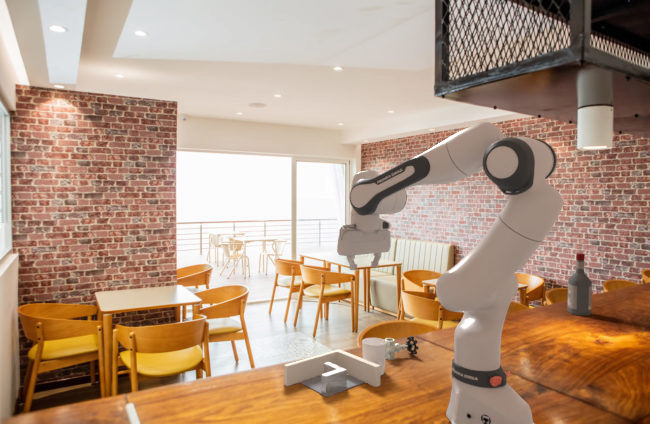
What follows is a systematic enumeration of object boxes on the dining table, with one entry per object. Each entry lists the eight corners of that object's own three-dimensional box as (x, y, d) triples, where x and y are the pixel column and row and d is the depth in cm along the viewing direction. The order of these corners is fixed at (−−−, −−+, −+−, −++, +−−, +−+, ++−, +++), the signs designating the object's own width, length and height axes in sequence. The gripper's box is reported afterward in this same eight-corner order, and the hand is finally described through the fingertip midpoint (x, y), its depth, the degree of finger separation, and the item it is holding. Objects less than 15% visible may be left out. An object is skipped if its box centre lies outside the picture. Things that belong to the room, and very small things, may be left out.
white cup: (366, 378, 135) (367, 346, 135) (358, 368, 143) (358, 338, 142) (390, 375, 137) (390, 344, 137) (380, 366, 145) (380, 336, 144)
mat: (364, 383, 131) (364, 382, 131) (326, 397, 122) (326, 396, 122) (337, 371, 140) (337, 370, 140) (300, 383, 131) (300, 382, 131)
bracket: (346, 386, 128) (346, 369, 128) (325, 394, 123) (326, 376, 123) (328, 377, 134) (328, 361, 134) (308, 384, 129) (308, 368, 129)
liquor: (572, 315, 215) (573, 254, 214) (566, 310, 224) (567, 252, 223) (592, 316, 213) (594, 255, 212) (585, 311, 222) (587, 253, 221)
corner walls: (380, 385, 130) (380, 365, 130) (324, 407, 115) (324, 385, 115) (338, 367, 144) (338, 349, 144) (283, 384, 129) (284, 364, 129)
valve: (389, 362, 149) (418, 357, 154) (389, 343, 149) (418, 339, 154) (379, 355, 155) (407, 351, 160) (379, 337, 155) (408, 333, 160)
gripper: (347, 225, 125) (346, 273, 125) (394, 223, 138) (393, 266, 139) (332, 224, 130) (332, 270, 130) (379, 222, 143) (378, 264, 143)
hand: (364, 268), depth 134 cm, fingers open, 8 cm apart
